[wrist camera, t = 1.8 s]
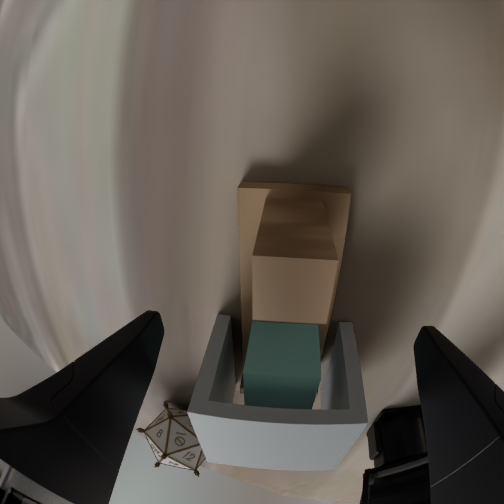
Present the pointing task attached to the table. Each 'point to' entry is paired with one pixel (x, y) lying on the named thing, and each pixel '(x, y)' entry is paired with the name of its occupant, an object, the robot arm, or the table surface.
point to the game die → (174, 440)
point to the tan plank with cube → (290, 253)
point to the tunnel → (278, 412)
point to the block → (282, 365)
